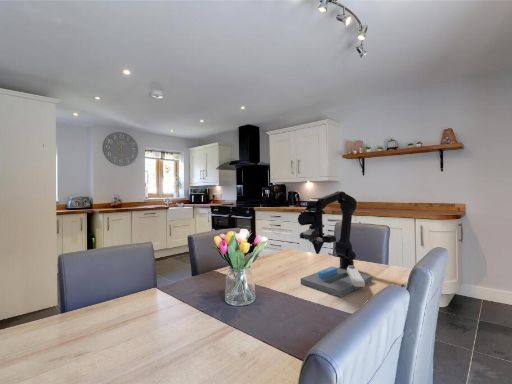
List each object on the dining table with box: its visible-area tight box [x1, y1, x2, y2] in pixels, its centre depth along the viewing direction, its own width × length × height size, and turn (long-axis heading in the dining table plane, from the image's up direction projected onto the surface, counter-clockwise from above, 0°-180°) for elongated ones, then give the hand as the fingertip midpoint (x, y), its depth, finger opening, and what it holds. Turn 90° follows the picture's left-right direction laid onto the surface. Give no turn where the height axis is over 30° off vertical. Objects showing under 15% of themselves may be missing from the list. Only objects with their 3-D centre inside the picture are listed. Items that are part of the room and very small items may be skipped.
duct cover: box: [347, 265, 366, 288], centre depth 128 cm, size 22×4×3 cm, turn 170°
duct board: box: [300, 266, 373, 298], centre depth 130 cm, size 22×26×2 cm
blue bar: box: [318, 266, 338, 279], centre depth 134 cm, size 2×12×2 cm, turn 130°
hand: (317, 253), depth 138 cm, fingers closed
